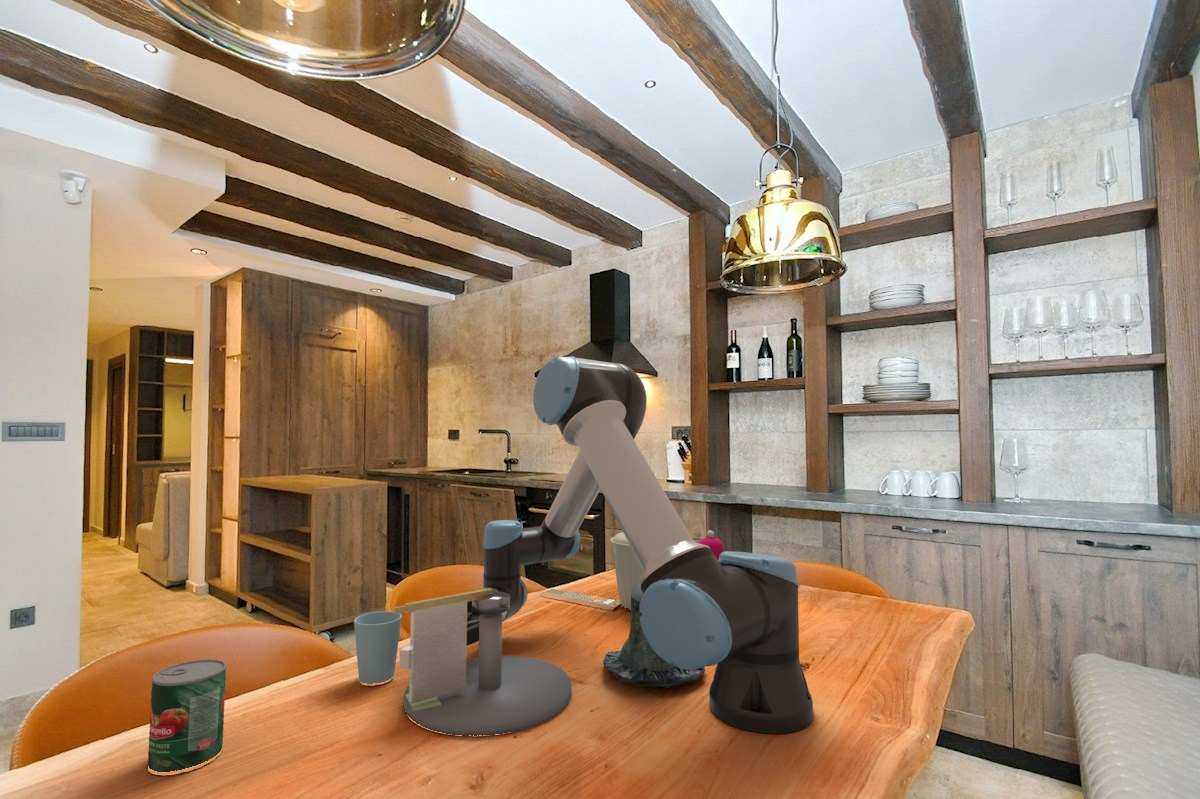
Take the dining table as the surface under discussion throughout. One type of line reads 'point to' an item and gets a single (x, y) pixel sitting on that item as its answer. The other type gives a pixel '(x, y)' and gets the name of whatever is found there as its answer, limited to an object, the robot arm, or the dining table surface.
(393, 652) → the cup
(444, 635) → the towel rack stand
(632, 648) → the tree stump
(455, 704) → the stand
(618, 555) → the canister
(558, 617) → the dining table surface
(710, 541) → the pepper mill
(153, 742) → the canned tomato
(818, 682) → the dining table surface
